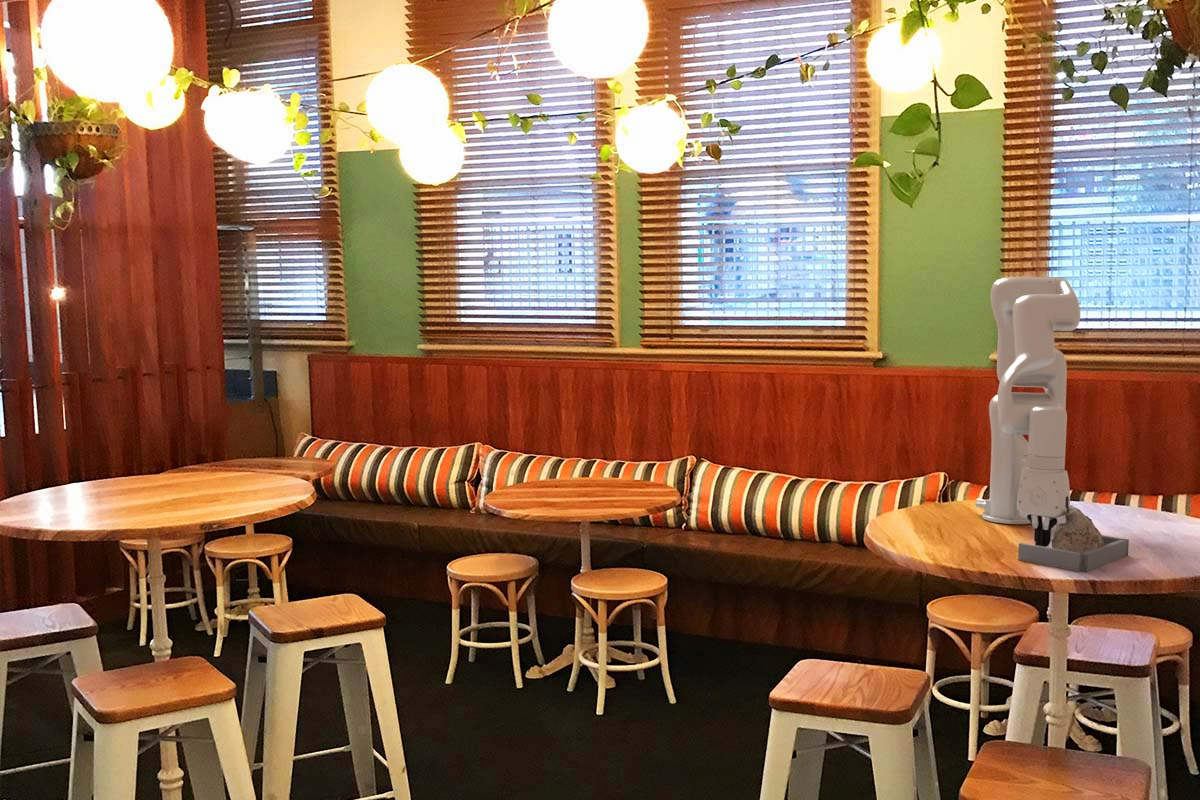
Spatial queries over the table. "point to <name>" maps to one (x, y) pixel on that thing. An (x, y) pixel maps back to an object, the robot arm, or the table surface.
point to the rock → (1077, 533)
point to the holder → (1075, 555)
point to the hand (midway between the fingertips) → (1042, 546)
